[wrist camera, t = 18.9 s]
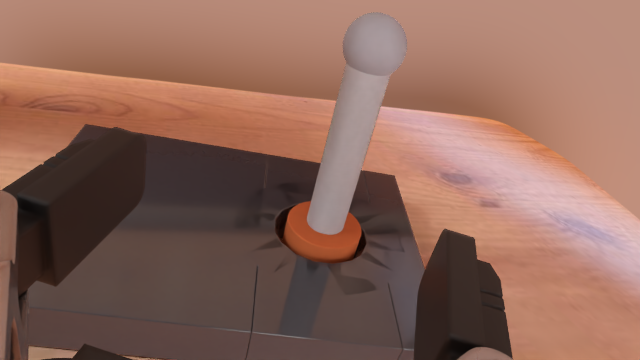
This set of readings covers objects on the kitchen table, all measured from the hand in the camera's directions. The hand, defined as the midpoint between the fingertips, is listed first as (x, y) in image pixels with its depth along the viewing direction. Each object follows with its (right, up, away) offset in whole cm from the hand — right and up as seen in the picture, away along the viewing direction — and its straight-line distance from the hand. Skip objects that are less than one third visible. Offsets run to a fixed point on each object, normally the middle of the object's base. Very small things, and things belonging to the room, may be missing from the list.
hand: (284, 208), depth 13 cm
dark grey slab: (-4, -4, +17) cm, 18 cm away
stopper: (+1, -4, +17) cm, 18 cm away
